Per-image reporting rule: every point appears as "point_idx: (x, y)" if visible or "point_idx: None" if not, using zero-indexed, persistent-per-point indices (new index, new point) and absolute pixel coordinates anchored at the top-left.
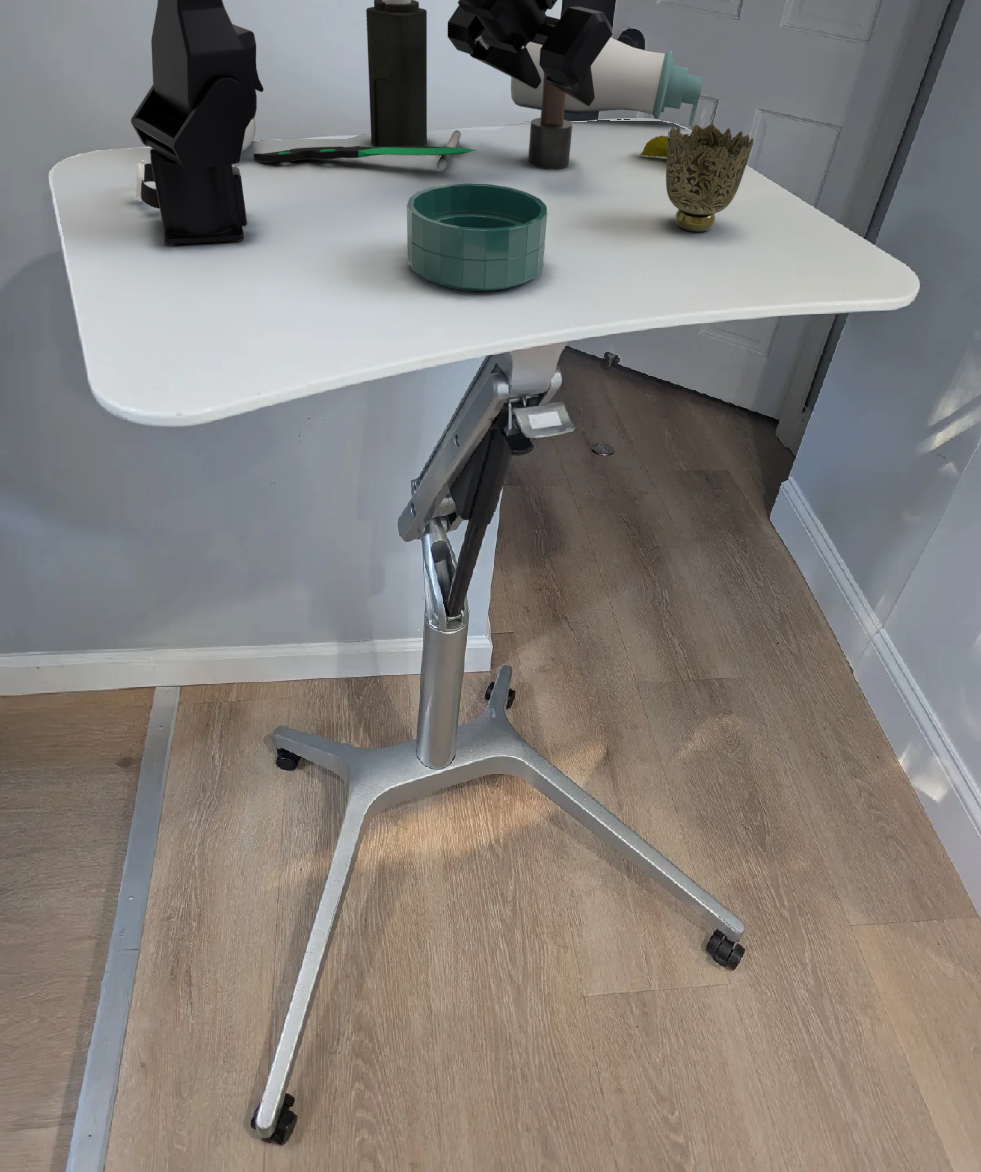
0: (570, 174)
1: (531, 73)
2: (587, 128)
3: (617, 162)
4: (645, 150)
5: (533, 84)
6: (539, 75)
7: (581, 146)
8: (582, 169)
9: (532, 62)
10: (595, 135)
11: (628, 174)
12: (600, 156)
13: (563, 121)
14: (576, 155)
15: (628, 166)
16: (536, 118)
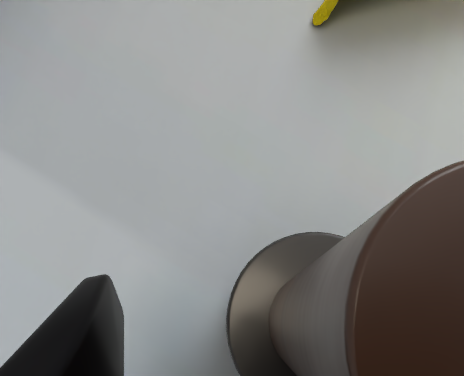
0: None
1: (101, 370)
2: (16, 15)
3: (344, 108)
4: (326, 4)
5: (118, 338)
6: (97, 290)
7: (168, 123)
8: None
9: (66, 369)
10: (86, 30)
11: (460, 139)
12: (277, 123)
13: (314, 260)
14: (246, 185)
15: (388, 99)
16: (237, 357)
